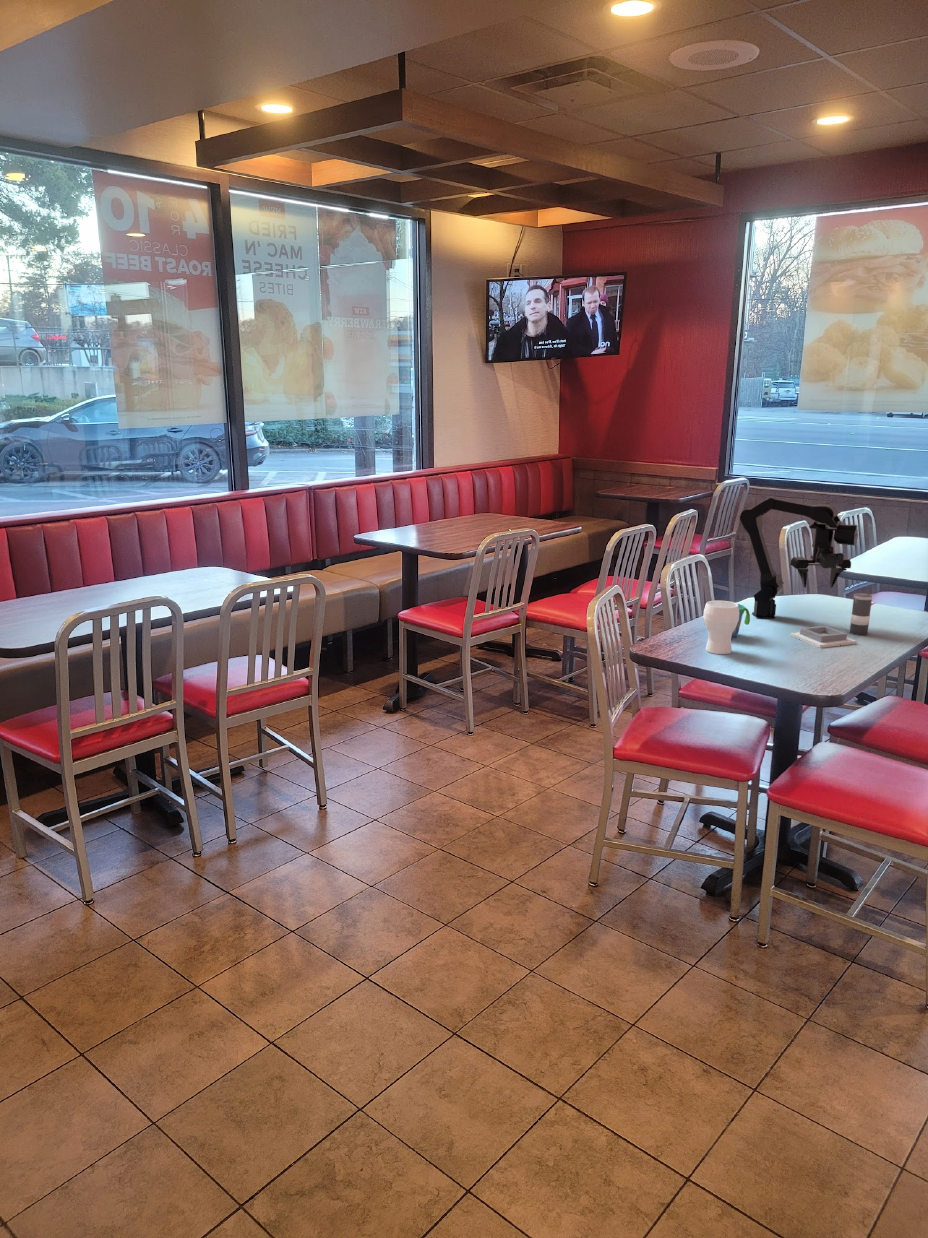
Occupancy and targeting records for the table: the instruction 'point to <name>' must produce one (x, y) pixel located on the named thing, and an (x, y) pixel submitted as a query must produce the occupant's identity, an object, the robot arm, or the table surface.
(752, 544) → the robot arm
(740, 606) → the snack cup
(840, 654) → the table surface
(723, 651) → the cup
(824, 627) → the square framed plate
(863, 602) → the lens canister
